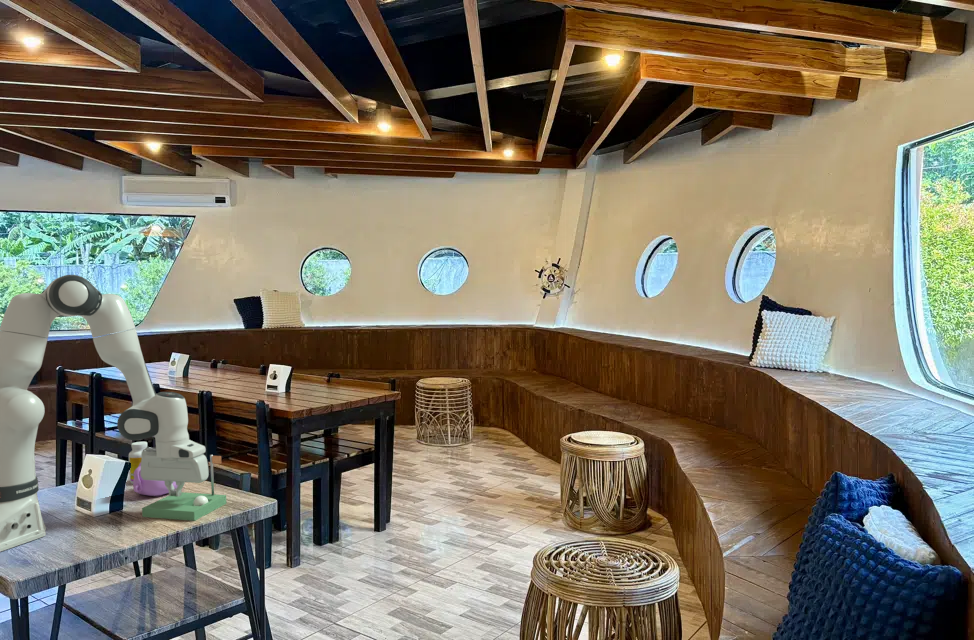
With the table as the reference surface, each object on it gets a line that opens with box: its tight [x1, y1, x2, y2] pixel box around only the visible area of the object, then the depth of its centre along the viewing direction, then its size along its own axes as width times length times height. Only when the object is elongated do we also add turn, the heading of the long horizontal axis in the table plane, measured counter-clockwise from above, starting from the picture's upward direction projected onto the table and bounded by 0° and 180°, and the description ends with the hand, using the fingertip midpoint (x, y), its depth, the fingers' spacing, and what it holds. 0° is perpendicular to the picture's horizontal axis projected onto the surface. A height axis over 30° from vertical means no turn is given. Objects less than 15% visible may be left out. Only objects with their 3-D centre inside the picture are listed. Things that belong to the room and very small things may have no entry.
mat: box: [141, 491, 227, 522], centre depth 210 cm, size 15×17×2 cm
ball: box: [193, 496, 208, 506], centre depth 209 cm, size 4×4×4 cm
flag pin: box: [209, 454, 222, 496], centre depth 214 cm, size 1×4×12 cm, turn 77°
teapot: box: [132, 463, 178, 497], centre depth 228 cm, size 20×13×12 cm, turn 154°
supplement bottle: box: [128, 441, 149, 485], centre depth 238 cm, size 7×7×13 cm
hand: (175, 495), depth 211 cm, fingers closed
